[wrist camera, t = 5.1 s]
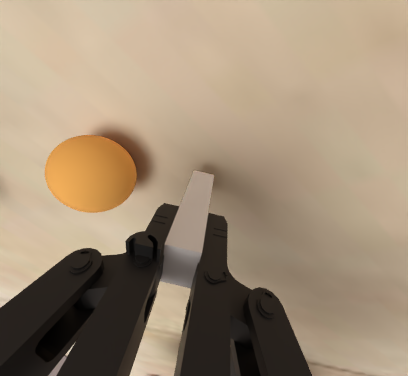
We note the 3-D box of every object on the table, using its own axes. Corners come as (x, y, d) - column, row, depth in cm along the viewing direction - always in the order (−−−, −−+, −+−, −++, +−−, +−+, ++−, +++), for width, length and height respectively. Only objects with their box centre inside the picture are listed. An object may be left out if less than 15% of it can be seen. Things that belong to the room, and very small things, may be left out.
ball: (147, 134, 13) (104, 163, 9) (147, 192, 16) (115, 236, 12) (79, 120, 13) (0, 140, 9) (91, 180, 16) (37, 219, 12)
